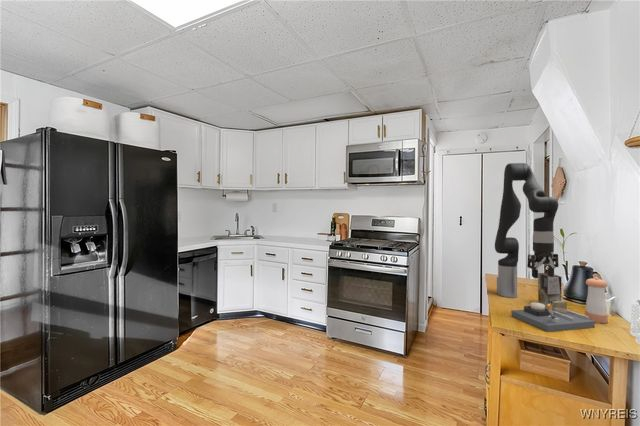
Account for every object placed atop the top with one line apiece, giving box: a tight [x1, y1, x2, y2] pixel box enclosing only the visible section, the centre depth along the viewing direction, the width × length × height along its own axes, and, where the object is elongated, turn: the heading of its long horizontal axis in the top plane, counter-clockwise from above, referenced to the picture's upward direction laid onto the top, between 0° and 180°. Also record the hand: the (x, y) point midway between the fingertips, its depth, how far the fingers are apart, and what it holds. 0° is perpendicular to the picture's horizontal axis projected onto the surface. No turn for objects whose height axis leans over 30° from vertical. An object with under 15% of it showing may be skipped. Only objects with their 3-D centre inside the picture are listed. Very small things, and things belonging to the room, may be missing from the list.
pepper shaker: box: [584, 276, 609, 324], centre depth 129 cm, size 7×7×19 cm
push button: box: [530, 301, 546, 311], centre depth 132 cm, size 5×5×2 cm
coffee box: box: [537, 272, 562, 308], centre depth 149 cm, size 9×6×16 cm
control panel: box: [511, 305, 596, 333], centre depth 129 cm, size 18×23×4 cm
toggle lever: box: [545, 304, 555, 319], centre depth 122 cm, size 2×2×6 cm
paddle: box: [552, 300, 568, 313], centre depth 132 cm, size 2×6×5 cm, turn 100°
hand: (542, 277), depth 131 cm, fingers open, 8 cm apart
